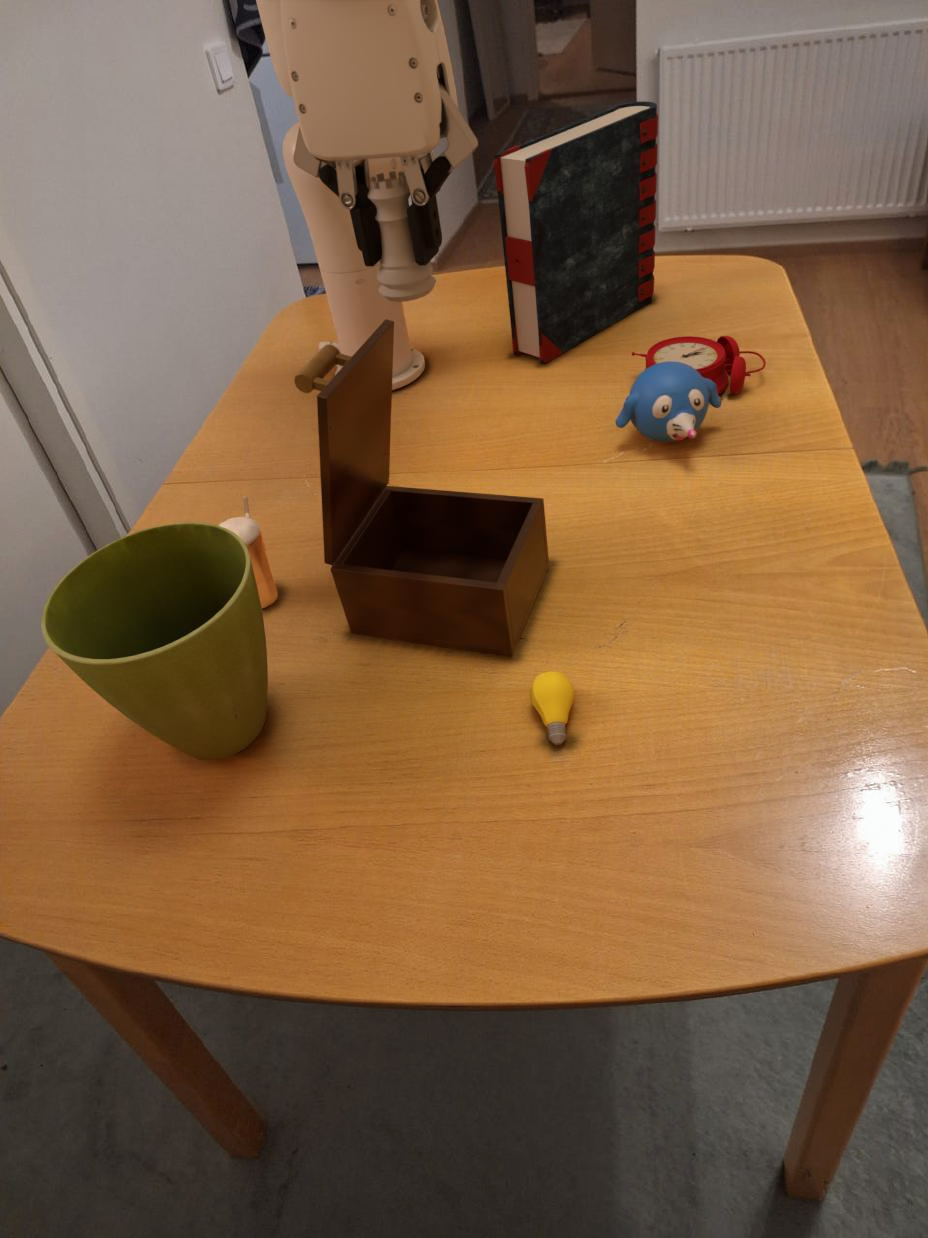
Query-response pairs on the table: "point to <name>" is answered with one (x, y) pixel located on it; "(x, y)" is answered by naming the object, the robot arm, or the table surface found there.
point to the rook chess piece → (397, 242)
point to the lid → (352, 432)
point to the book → (579, 227)
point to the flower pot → (169, 635)
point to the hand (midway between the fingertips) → (402, 256)
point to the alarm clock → (705, 358)
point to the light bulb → (553, 702)
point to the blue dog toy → (668, 402)
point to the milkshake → (255, 554)
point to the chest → (445, 569)
